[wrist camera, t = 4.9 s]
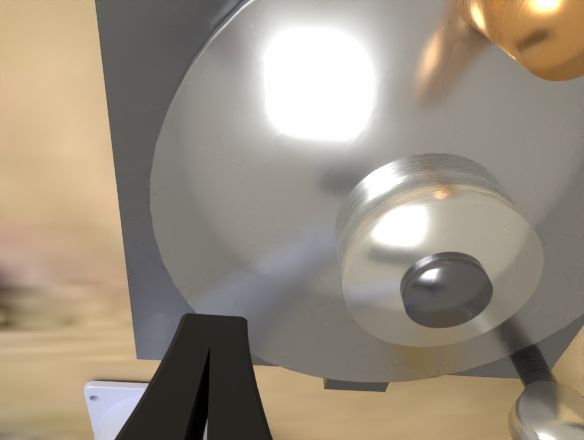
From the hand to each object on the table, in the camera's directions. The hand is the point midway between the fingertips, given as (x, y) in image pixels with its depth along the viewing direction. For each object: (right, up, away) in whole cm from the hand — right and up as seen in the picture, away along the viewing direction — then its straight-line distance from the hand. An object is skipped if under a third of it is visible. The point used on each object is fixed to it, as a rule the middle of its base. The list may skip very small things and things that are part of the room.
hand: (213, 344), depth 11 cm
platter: (+6, +3, +6) cm, 9 cm away
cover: (+6, +3, +5) cm, 8 cm away
